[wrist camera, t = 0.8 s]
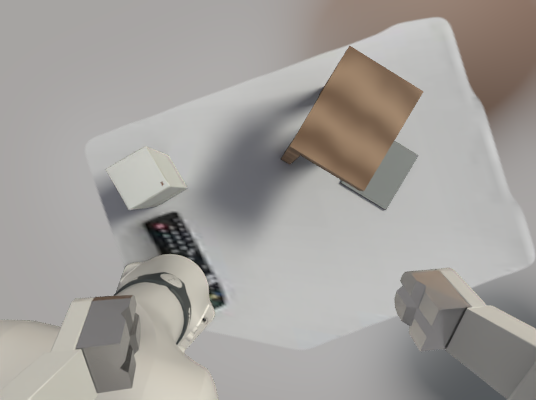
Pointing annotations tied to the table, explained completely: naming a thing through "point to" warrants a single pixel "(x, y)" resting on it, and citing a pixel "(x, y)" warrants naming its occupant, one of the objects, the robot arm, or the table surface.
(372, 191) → the slate mat
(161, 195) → the supplement box
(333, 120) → the shelf stand
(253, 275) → the table surface
